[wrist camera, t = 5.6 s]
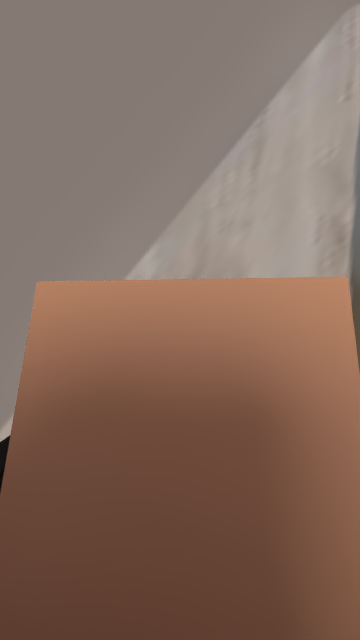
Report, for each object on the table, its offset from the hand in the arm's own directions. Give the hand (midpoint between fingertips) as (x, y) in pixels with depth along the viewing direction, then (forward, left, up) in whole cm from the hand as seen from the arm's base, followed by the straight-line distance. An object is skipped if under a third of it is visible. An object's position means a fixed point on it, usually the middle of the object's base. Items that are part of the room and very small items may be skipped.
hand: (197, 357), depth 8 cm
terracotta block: (-1, 0, -7) cm, 7 cm away
